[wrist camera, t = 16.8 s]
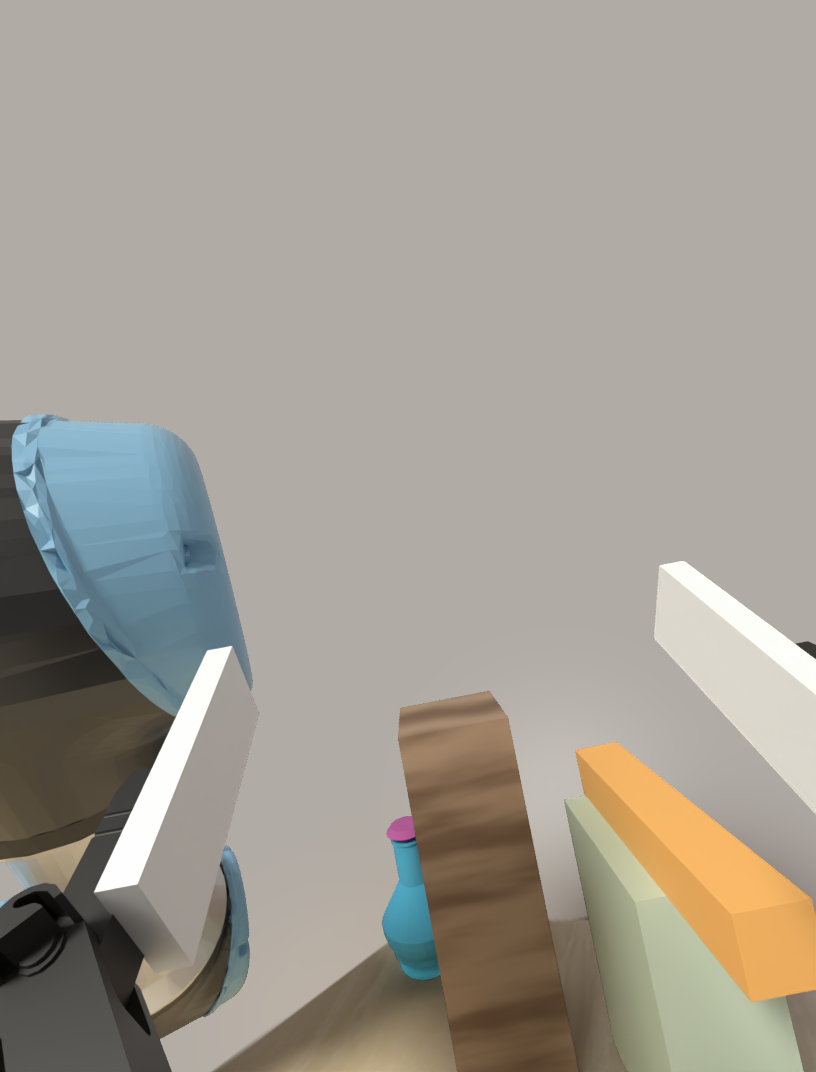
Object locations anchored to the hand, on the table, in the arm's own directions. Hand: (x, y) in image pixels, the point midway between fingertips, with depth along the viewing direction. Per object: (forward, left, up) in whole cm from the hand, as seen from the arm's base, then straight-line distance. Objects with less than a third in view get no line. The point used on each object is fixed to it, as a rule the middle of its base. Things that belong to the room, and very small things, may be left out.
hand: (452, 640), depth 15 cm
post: (-17, +30, -42) cm, 54 cm away
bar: (+1, +25, -21) cm, 32 cm away
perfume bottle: (-29, +36, -42) cm, 62 cm away
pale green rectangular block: (-1, +28, -42) cm, 50 cm away
